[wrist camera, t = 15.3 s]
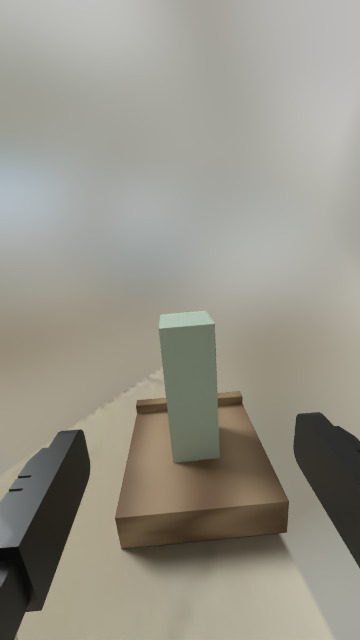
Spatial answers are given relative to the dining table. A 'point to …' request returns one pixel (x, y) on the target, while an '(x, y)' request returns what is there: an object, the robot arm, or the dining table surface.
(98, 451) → the dining table surface
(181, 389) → the pillar
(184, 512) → the plinth
